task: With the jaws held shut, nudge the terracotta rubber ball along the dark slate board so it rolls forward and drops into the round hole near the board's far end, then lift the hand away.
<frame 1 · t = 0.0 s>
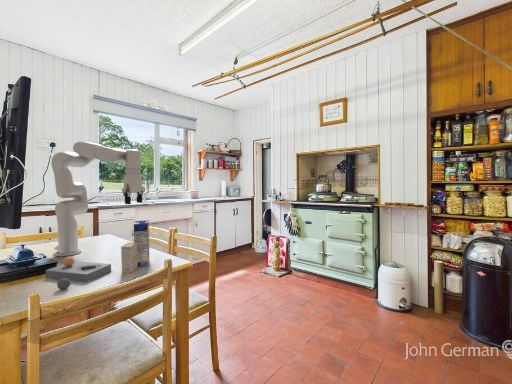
hand: (133, 203, 146), 31 cm above the table, fingers open, 9 cm apart
supplement box: (129, 271, 129), on the table
beverage box: (142, 263, 140), on the table
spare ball: (63, 283, 107), point 2 cm above the table
ball: (68, 261, 124), point 6 cm above the table, touching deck
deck: (79, 274, 123), on the table
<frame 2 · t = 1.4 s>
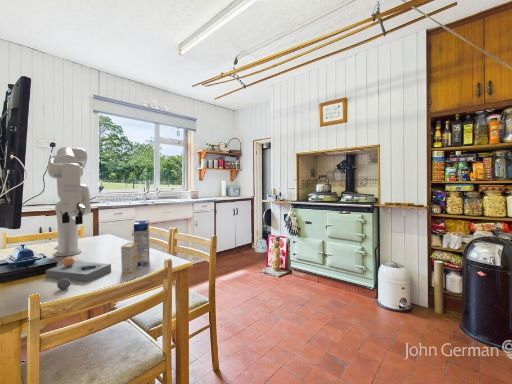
hand: (72, 223, 130), 23 cm above the table, fingers open, 9 cm apart
nothing on the table moved.
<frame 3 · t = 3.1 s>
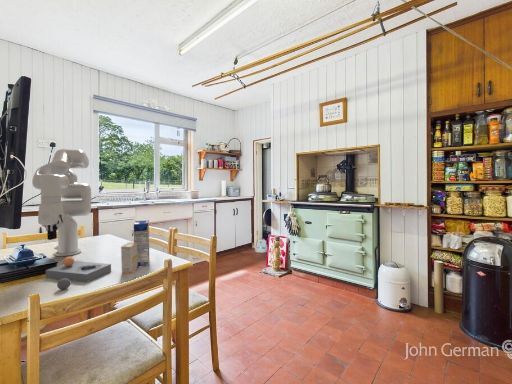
hand: (52, 239, 125), 16 cm above the table, fingers closed
nothing on the table moved.
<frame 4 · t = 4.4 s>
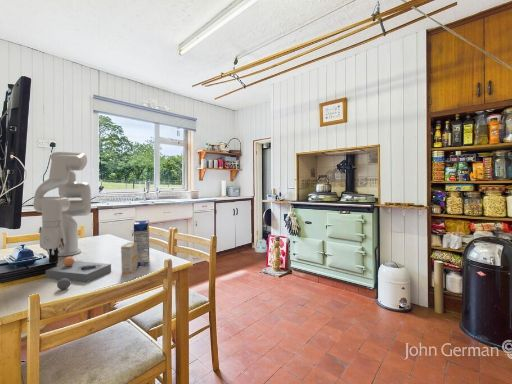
hand: (53, 262, 126), 5 cm above the table, fingers closed
nothing on the table moved.
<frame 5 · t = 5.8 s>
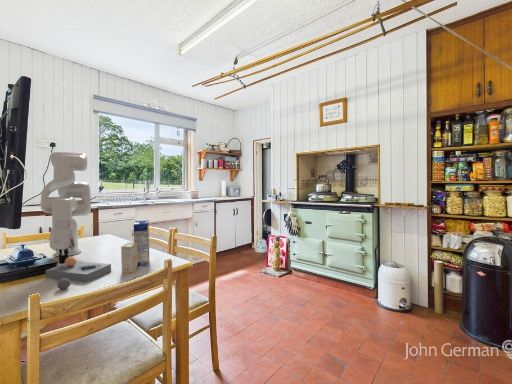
hand: (63, 262, 125), 5 cm above the table, fingers closed
ball: (70, 261, 124), point 6 cm above the table, touching gripper
everything else where it was.
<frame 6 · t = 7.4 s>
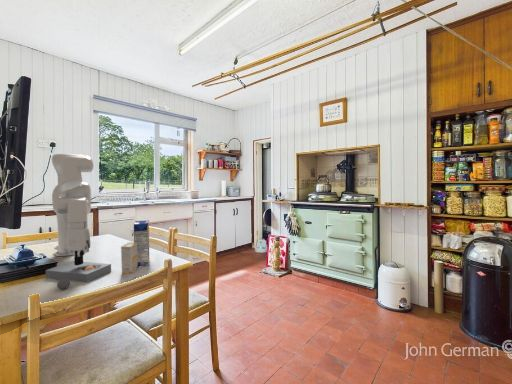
hand: (78, 264, 123), 5 cm above the table, fingers closed
ball: (89, 270, 122), point 2 cm above the table, tilted 157°
everything else where it was.
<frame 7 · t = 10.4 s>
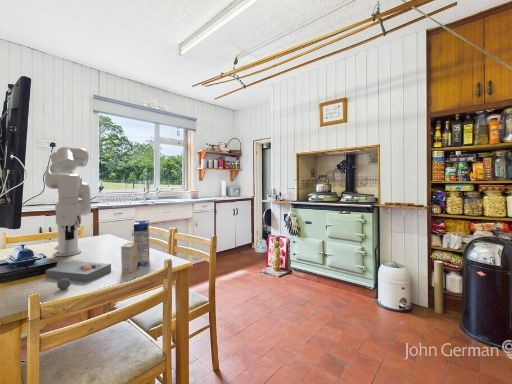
hand: (69, 239, 124), 16 cm above the table, fingers closed
ball: (87, 270, 122), point 2 cm above the table, tilted 120°
everything else where it was.
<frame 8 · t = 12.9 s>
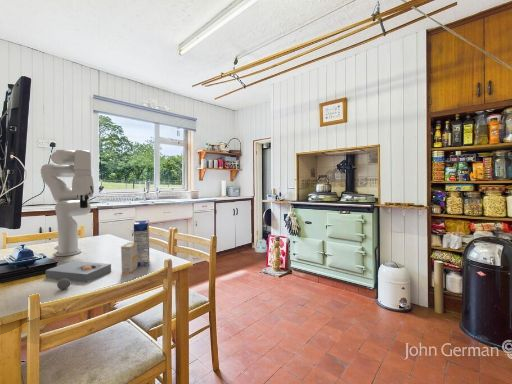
hand: (83, 207, 141), 29 cm above the table, fingers closed
nothing on the table moved.
at the end: ball 0.8 cm from the target spot in the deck, point 2.2 cm above the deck's base; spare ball moved 0.0 cm from its start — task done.
